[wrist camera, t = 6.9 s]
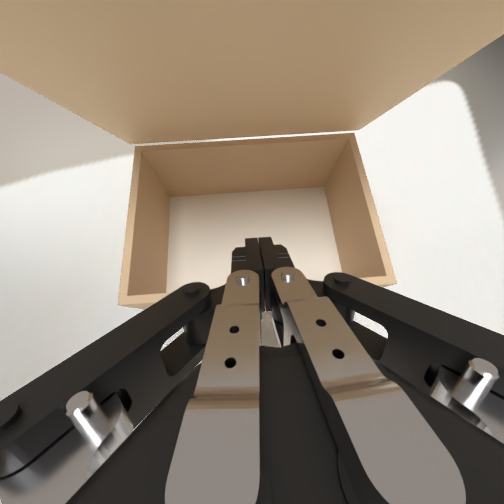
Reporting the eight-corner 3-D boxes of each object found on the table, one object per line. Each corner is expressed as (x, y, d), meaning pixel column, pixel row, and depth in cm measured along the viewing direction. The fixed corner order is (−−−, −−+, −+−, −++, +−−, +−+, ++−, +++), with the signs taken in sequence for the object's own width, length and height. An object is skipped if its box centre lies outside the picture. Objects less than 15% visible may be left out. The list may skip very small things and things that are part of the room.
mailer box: (161, 311, 23) (117, 305, 16) (167, 195, 28) (135, 146, 20) (350, 296, 24) (397, 283, 16) (326, 185, 28) (354, 132, 20)
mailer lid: (-143, -7, 6) (-154, -36, 6) (130, 144, 20) (128, 136, 20) (615, -41, 6) (621, -68, 6) (358, 129, 20) (359, 122, 20)
